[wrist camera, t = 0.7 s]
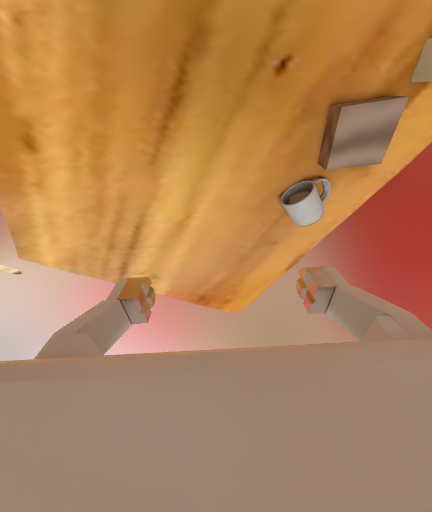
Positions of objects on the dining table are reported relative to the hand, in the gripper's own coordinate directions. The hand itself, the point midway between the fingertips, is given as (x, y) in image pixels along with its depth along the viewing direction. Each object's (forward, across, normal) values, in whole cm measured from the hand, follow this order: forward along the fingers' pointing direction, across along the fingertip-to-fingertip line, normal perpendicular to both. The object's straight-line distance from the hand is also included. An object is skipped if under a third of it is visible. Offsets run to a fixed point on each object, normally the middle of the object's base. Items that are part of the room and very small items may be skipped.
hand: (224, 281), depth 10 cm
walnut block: (+36, -27, -5) cm, 46 cm away
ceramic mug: (+38, -21, +7) cm, 44 cm away
